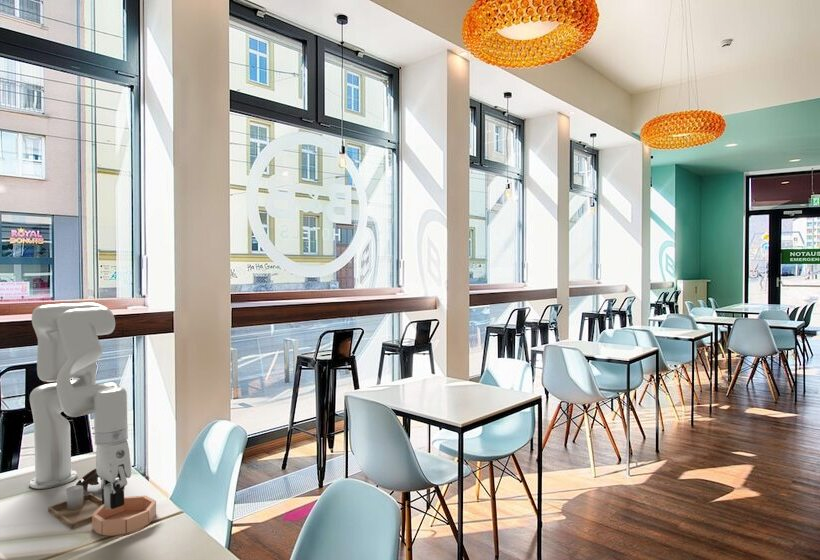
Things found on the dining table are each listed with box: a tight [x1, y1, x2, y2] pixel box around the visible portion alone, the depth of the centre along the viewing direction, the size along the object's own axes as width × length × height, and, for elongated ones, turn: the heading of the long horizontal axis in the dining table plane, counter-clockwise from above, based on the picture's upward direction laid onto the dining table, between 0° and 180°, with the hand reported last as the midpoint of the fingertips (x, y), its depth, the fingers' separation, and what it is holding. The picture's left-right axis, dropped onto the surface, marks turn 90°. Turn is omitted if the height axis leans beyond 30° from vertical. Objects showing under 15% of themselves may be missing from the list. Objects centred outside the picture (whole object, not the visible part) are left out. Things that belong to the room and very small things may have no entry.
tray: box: [47, 492, 103, 530], centre depth 142 cm, size 16×11×2 cm
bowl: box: [91, 495, 157, 537], centre depth 136 cm, size 14×14×4 cm
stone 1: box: [66, 485, 84, 511], centre depth 144 cm, size 4×4×6 cm
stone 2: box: [103, 482, 119, 510], centre depth 133 cm, size 4×4×6 cm
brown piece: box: [75, 468, 101, 492], centre depth 156 cm, size 12×10×8 cm
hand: (113, 503), depth 133 cm, fingers closed on stone 2, 4 cm apart
